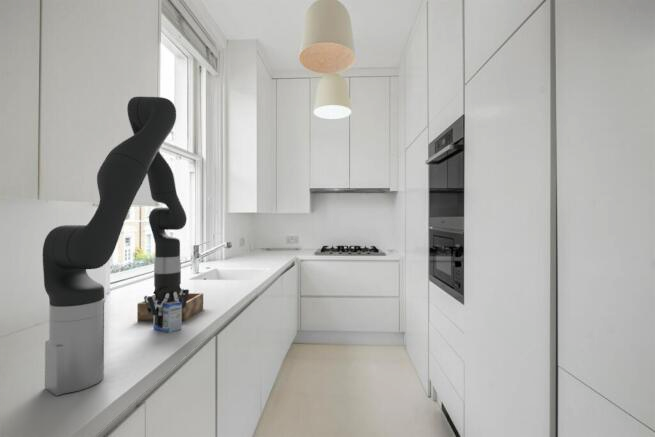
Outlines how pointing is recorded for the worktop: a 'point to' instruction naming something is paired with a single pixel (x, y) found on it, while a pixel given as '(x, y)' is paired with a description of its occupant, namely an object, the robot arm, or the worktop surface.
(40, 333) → the worktop surface
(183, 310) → the storage box
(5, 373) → the worktop surface
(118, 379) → the worktop surface
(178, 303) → the medicine box
